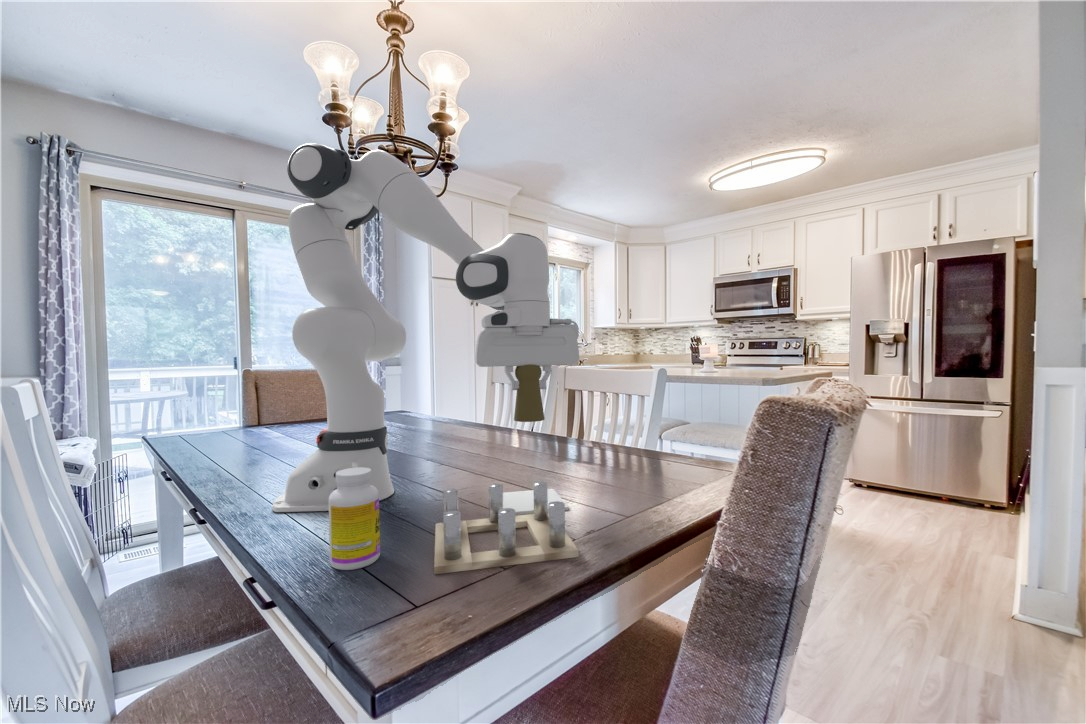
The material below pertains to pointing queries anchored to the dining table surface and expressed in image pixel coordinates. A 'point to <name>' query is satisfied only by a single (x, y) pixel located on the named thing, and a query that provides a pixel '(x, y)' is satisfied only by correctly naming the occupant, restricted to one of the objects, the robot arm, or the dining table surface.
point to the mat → (527, 501)
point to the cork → (528, 394)
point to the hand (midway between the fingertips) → (528, 389)
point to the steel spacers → (503, 520)
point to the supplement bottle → (354, 520)
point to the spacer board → (493, 558)
